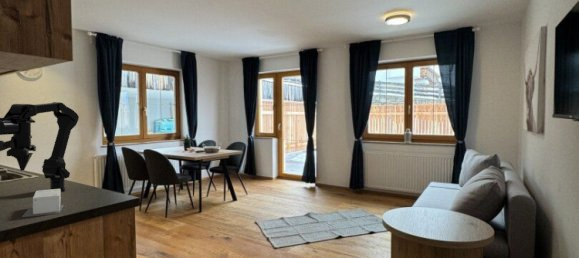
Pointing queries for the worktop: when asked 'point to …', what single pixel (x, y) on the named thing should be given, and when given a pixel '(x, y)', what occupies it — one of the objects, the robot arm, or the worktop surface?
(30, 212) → the grey square plate
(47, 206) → the small box
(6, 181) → the worktop surface
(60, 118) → the robot arm
